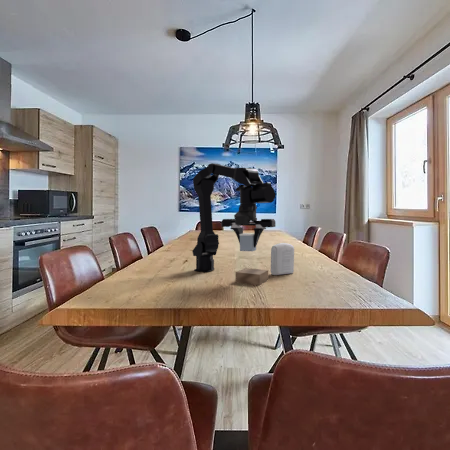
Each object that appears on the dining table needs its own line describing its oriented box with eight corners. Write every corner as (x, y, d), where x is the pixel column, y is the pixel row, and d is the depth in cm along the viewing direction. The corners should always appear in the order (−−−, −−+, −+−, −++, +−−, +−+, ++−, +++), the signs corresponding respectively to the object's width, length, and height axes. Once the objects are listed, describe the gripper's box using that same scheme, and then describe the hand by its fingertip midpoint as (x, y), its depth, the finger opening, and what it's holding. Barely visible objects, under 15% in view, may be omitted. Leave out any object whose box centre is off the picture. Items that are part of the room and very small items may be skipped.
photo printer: (287, 271, 140) (288, 241, 139) (295, 273, 137) (296, 242, 136) (268, 274, 134) (269, 243, 134) (276, 276, 131) (276, 244, 130)
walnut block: (235, 283, 119) (235, 272, 119) (245, 278, 127) (245, 267, 127) (259, 286, 115) (259, 274, 115) (268, 281, 123) (268, 270, 123)
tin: (239, 251, 120) (239, 234, 120) (243, 249, 125) (243, 233, 124) (252, 251, 118) (252, 234, 118) (256, 250, 123) (256, 233, 122)
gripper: (214, 203, 117) (215, 248, 117) (267, 202, 110) (267, 250, 110) (227, 204, 127) (227, 245, 128) (275, 203, 120) (275, 247, 121)
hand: (248, 247), depth 121 cm, fingers closed on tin, 5 cm apart
